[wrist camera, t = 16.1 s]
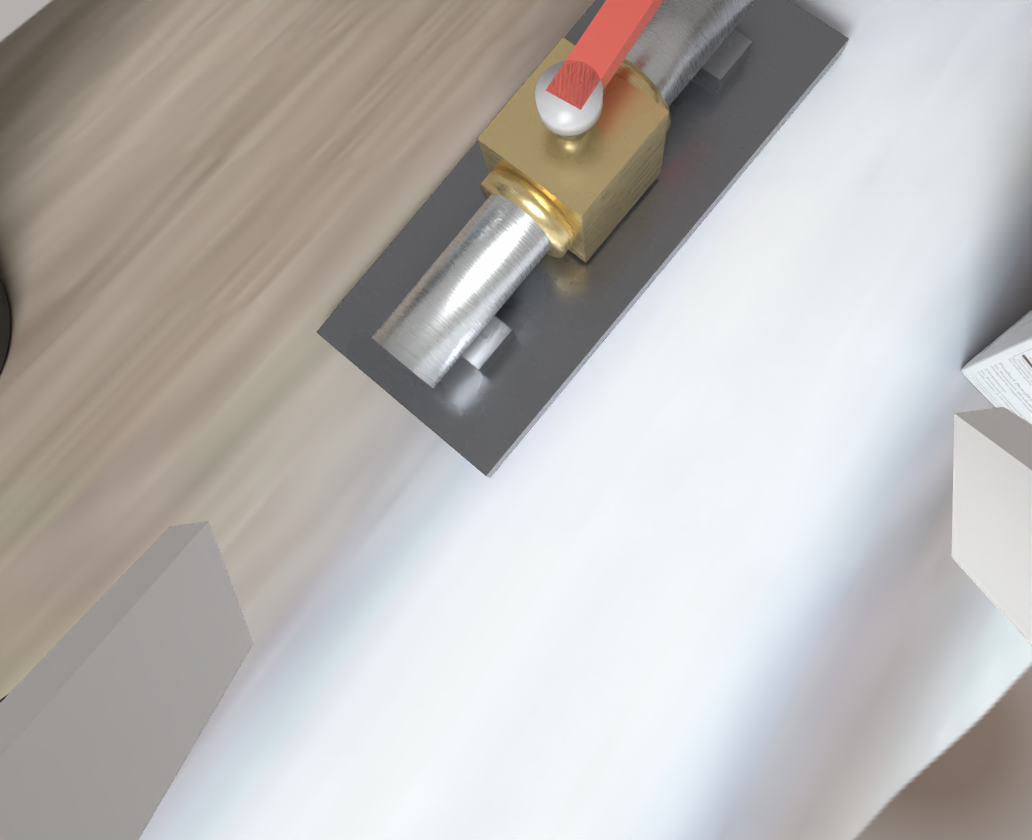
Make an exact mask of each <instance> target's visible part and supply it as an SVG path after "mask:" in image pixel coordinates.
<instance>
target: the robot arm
mask: <svg viewBox="0 0 1032 840" xmlns="http://www.w3.org/2000/svg"><path fill="white" fill-rule="evenodd" d="M9 335H10V313H9V306H8V301H7V297H6V293H5V290H4V287H3V285H2V282H1V280H0V371H1V369H2V366H3V363H4V360H5V357H6V353H7V348H8V343H9ZM952 558H953V559H954V560H955V561H956V562H957V564H958V565H959V566H960V567H961V568H962V569H963V570H964V571H965V572H966V574H967V575H968V576H969V577H970V578H971V579H972V580H973V581H974V582H975V583H976V585H977V586H978V587H979V588H980V589H981V590H982V591H983V592H984V593H985V595H986V596H987V597H988V598H989V599H990V600H991V601H992V602H993V603H994V605H995V606H996V607H997V608H998V609H999V610H1000V611H1001V612H1002V613H1003V614H1004V616H1005V617H1006V618H1007V619H1008V620H1009V621H1010V622H1011V623H1012V624H1013V626H1014V627H1015V628H1016V629H1017V630H1018V631H1019V632H1020V633H1021V634H1022V636H1023V637H1024V638H1025V639H1026V640H1027V641H1028V642H1029V643H1030V644H1031V645H1032V424H1030V423H1028V422H1027V421H1025V420H1024V419H1022V418H1021V417H1019V416H1017V415H1016V414H1014V413H1013V412H1011V411H1010V410H1008V409H1007V408H1005V407H998V408H991V409H984V410H977V411H970V412H963V413H956V414H955V421H954V471H953V521H952ZM252 645H253V641H252V638H251V635H250V633H249V630H248V627H247V624H246V622H245V619H244V616H243V613H242V611H241V608H240V605H239V603H238V600H237V597H236V594H235V592H234V589H233V586H232V583H231V581H230V578H229V575H228V572H227V570H226V567H225V564H224V562H223V559H222V556H221V553H220V551H219V548H218V545H217V542H216V540H215V537H214V534H213V531H212V529H211V526H210V523H209V521H205V522H198V523H191V524H185V525H178V526H171V527H169V528H168V529H167V530H166V531H165V532H164V533H163V534H162V535H161V536H160V538H159V539H158V540H157V541H156V542H155V543H154V544H153V545H152V546H151V547H150V548H149V549H148V550H147V551H146V552H145V553H144V554H143V555H142V556H141V557H140V558H139V559H138V560H137V561H136V562H135V563H134V565H133V566H132V567H131V568H130V569H129V570H128V571H127V572H126V573H125V574H124V575H123V576H122V577H121V578H120V579H119V580H118V581H117V582H116V583H115V584H114V585H113V586H112V587H111V588H110V589H109V590H108V592H107V593H106V594H105V595H104V596H103V597H102V598H101V599H100V600H99V601H98V602H97V603H96V604H95V605H94V606H93V607H92V608H91V609H90V610H89V611H88V612H87V613H86V614H85V615H84V616H83V618H82V619H81V620H80V621H79V622H78V623H77V624H76V625H75V626H74V627H73V628H72V629H71V630H70V631H69V632H68V633H67V634H66V635H65V636H64V637H63V638H62V639H61V640H60V641H59V642H58V643H57V645H56V646H55V647H54V648H53V649H52V650H51V651H50V652H49V653H48V654H47V655H46V656H45V657H44V658H43V659H42V660H41V661H40V662H39V663H38V664H37V665H36V666H35V667H34V668H33V669H32V671H31V672H30V673H29V674H28V675H27V676H26V677H25V678H24V679H23V680H22V681H21V682H20V683H19V684H18V685H17V686H16V687H15V688H14V689H13V690H12V691H11V692H10V693H9V694H8V695H6V696H5V697H4V698H2V699H1V700H0V840H139V838H140V836H141V835H142V833H143V831H144V829H145V828H146V826H147V824H148V823H149V821H150V819H151V818H152V816H153V814H154V812H155V811H156V809H157V807H158V806H159V804H160V802H161V800H162V799H163V797H164V795H165V794H166V792H167V790H168V789H169V787H170V785H171V783H172V782H173V780H174V778H175V777H176V775H177V773H178V771H179V770H180V768H181V766H182V765H183V763H184V761H185V760H186V758H187V756H188V754H189V753H190V751H191V749H192V748H193V746H194V744H195V742H196V741H197V739H198V737H199V736H200V734H201V732H202V731H203V729H204V727H205V725H206V724H207V722H208V720H209V719H210V717H211V715H212V714H213V712H214V710H215V708H216V707H217V705H218V703H219V702H220V700H221V698H222V696H223V695H224V693H225V691H226V690H227V688H228V686H229V685H230V683H231V681H232V679H233V678H234V676H235V674H236V673H237V671H238V669H239V667H240V666H241V664H242V662H243V661H244V659H245V657H246V656H247V654H248V652H249V650H250V649H251V647H252Z"/></svg>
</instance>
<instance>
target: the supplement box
mask: <svg viewBox="0 0 1032 840" xmlns="http://www.w3.org/2000/svg"><path fill="white" fill-rule="evenodd" d="M961 372H962V373H963V374H964V375H965V376H966V377H967V378H968V379H969V381H970V382H971V383H972V384H973V385H974V386H975V387H976V388H977V389H978V390H979V391H980V392H981V393H982V394H983V395H984V396H985V397H986V398H987V399H988V400H989V401H990V402H991V403H992V404H993V405H994V406H995V407H996V408H998V407H1005V408H1007V409H1008V410H1010V411H1011V412H1013V413H1014V414H1016V415H1017V416H1019V417H1021V418H1022V419H1024V420H1025V421H1027V422H1028V423H1030V424H1032V309H1031V310H1030V311H1029V312H1028V313H1027V314H1026V315H1024V316H1023V317H1022V318H1021V319H1020V320H1018V321H1017V322H1016V323H1015V324H1014V325H1012V326H1011V327H1010V328H1009V329H1008V330H1006V331H1005V332H1004V333H1003V334H1002V335H1000V336H999V337H998V338H997V339H996V340H994V341H993V342H992V343H991V344H990V345H988V346H987V347H986V348H985V349H984V350H982V351H981V352H980V353H979V354H978V355H976V356H975V357H974V358H973V359H972V360H970V361H969V362H968V363H967V364H966V365H965V366H964V367H963V368H962V369H961Z"/></svg>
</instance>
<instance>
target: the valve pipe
mask: <svg viewBox="0 0 1032 840" xmlns="http://www.w3.org/2000/svg"><path fill="white" fill-rule="evenodd" d="M605 1H606V0H596V1H595V2H594V3H593V5H592V6H591V7H590V8H589V9H588V11H587V12H586V13H585V14H584V15H583V16H582V18H581V19H580V20H579V21H578V22H577V24H576V25H575V26H574V27H573V28H572V30H571V31H570V32H569V33H568V34H567V35H566V37H565V38H562V39H561V40H560V41H559V42H558V43H557V45H556V46H555V47H554V48H553V49H552V51H551V52H550V53H549V54H548V55H547V57H546V58H545V59H544V60H543V61H542V62H541V64H540V65H539V66H538V67H537V68H536V70H535V71H534V72H533V73H532V74H531V76H530V77H529V78H528V79H527V80H526V81H525V83H524V84H523V85H522V86H521V87H520V89H519V90H518V91H517V92H516V93H515V95H514V96H513V97H512V98H511V99H510V100H509V102H508V103H507V104H506V105H505V106H504V108H503V109H502V110H501V111H500V112H499V113H498V115H497V116H496V117H495V118H494V119H493V121H492V122H491V123H490V124H489V125H488V127H487V128H486V129H485V130H484V131H483V132H482V134H481V135H480V136H479V137H478V138H477V139H478V141H477V142H476V143H475V145H474V146H473V147H472V148H471V149H470V151H469V152H468V153H467V154H466V155H465V156H464V158H463V159H462V160H461V161H460V162H459V164H458V165H457V166H456V167H455V168H454V170H453V171H452V172H451V173H450V174H449V175H448V177H447V178H446V179H445V180H444V181H443V183H442V184H441V185H440V186H439V187H438V189H437V190H436V191H435V192H434V193H433V194H432V196H431V197H430V198H429V199H428V200H427V202H426V203H425V204H424V205H423V206H422V208H421V209H420V210H419V211H418V212H417V213H416V215H415V216H414V217H413V218H412V219H411V221H410V222H409V223H408V224H407V225H406V227H405V228H404V229H403V230H402V231H401V232H400V234H399V235H398V236H397V237H396V238H395V240H394V241H393V242H392V243H391V244H390V246H389V247H388V248H387V249H386V250H385V251H384V253H383V254H382V255H381V256H380V257H379V259H378V260H377V261H376V262H375V263H374V264H373V266H372V267H371V268H370V269H369V270H368V272H367V273H366V274H365V275H364V276H363V278H362V279H361V280H360V281H359V282H358V283H357V285H356V286H355V287H354V288H353V289H352V291H351V292H350V293H349V294H348V295H347V297H346V298H345V299H344V300H343V301H342V302H341V304H340V305H339V306H338V307H337V308H336V310H335V311H334V312H333V313H332V314H331V316H330V317H329V318H328V319H327V320H326V321H325V323H324V324H323V325H322V326H321V327H320V329H319V330H318V331H317V333H318V334H319V335H320V336H321V337H323V338H324V339H325V340H326V341H327V342H329V343H330V344H331V345H332V346H333V347H334V348H336V349H337V350H338V351H339V352H340V353H341V354H343V355H344V356H345V357H346V358H347V359H349V360H350V361H351V362H352V363H353V364H354V365H356V366H357V367H358V368H359V369H360V370H362V371H363V372H364V373H365V374H366V375H367V376H369V377H370V378H371V379H372V380H373V381H375V382H376V383H377V384H378V385H379V386H380V387H382V388H383V389H384V390H385V391H386V392H388V393H389V394H390V395H391V396H392V397H393V398H395V399H396V400H397V401H398V402H399V403H401V404H402V405H403V406H404V407H405V408H406V409H408V410H409V411H410V412H411V413H412V414H413V415H415V416H416V417H417V418H418V419H419V420H421V421H422V422H423V423H424V424H425V425H426V426H428V427H429V428H430V429H431V430H432V431H434V432H435V433H436V434H437V435H438V436H439V437H441V438H442V439H443V440H444V441H445V442H447V443H448V444H449V445H450V446H451V447H452V448H454V449H455V450H456V451H457V452H458V453H460V454H461V455H462V456H463V457H464V458H465V459H467V460H468V461H469V462H470V463H471V464H473V465H474V466H475V467H476V468H477V469H478V470H480V471H481V472H482V473H483V474H484V475H485V476H487V477H491V476H492V475H493V474H494V472H495V471H496V470H497V469H498V468H499V466H500V465H501V464H502V463H503V462H504V460H505V459H506V458H507V457H508V456H509V454H510V453H511V452H512V451H513V450H514V448H515V447H516V446H517V445H518V444H519V442H520V441H521V440H522V439H523V438H524V436H525V435H526V434H527V433H528V431H529V430H530V429H531V428H532V427H533V425H534V424H535V423H536V422H537V421H538V419H539V418H540V417H541V416H542V415H543V413H544V412H545V411H546V410H547V409H548V407H549V406H550V405H551V404H552V403H553V401H554V400H555V399H556V398H557V397H558V395H559V394H560V393H561V392H562V390H563V389H564V388H565V387H566V386H567V384H568V383H569V382H570V381H571V380H572V378H573V377H574V376H575V375H576V374H577V372H578V371H579V370H580V369H581V368H582V366H583V365H584V364H585V363H586V362H587V360H588V359H589V358H590V357H591V356H592V354H593V353H594V352H595V351H596V349H597V348H598V347H599V346H600V345H601V343H602V342H603V341H604V340H605V339H606V337H607V336H608V335H609V334H610V333H611V331H612V330H613V329H614V328H615V327H616V325H617V324H618V323H619V322H620V321H621V319H622V318H623V317H624V316H625V315H626V313H627V312H628V311H629V310H630V308H631V307H632V306H633V305H634V304H635V302H636V301H637V300H638V299H639V298H640V296H641V295H642V294H643V293H644V292H645V290H646V289H647V288H648V287H649V286H650V284H651V283H652V282H653V281H654V280H655V278H656V277H657V276H658V275H659V274H660V272H661V271H662V270H663V269H664V267H665V266H666V265H667V264H668V263H669V261H670V260H671V259H672V258H673V257H674V255H675V254H676V253H677V252H678V251H679V249H680V248H681V247H682V246H683V245H684V243H685V242H686V241H687V240H688V239H689V237H690V236H691V235H692V234H693V233H694V231H695V230H696V229H697V228H698V226H699V225H700V224H701V223H702V222H703V220H704V219H705V218H706V217H707V216H708V214H709V213H710V212H711V211H712V210H713V208H714V207H715V206H716V205H717V204H718V202H719V201H720V200H721V199H722V198H723V196H724V195H725V194H726V193H727V192H728V190H729V189H730V188H731V187H732V185H733V184H734V183H735V182H736V181H737V179H738V178H739V177H740V176H741V175H742V173H743V172H744V171H745V170H746V169H747V167H748V166H749V165H750V164H751V163H752V161H753V160H754V159H755V158H756V157H757V155H758V154H759V153H760V152H761V151H762V149H763V148H764V147H765V146H766V144H767V143H768V142H769V141H770V140H771V138H772V137H773V136H774V135H775V134H776V132H777V131H778V130H779V129H780V128H781V126H782V125H783V124H784V123H785V122H786V120H787V119H788V118H789V117H790V116H791V114H792V113H793V112H794V111H795V110H796V108H797V107H798V106H799V105H800V103H801V102H802V101H803V100H804V99H805V97H806V96H807V95H808V94H809V93H810V91H811V90H812V89H813V88H814V87H815V85H816V84H817V83H818V82H819V81H820V79H821V78H822V77H823V76H824V75H825V73H826V72H827V71H828V70H829V69H830V67H831V66H832V65H833V64H834V62H835V61H836V60H837V59H838V58H839V56H840V55H841V54H842V52H843V50H844V48H845V46H846V44H847V42H848V40H849V39H848V38H847V37H845V36H843V35H842V34H840V33H839V32H837V31H836V30H834V29H833V28H831V27H829V26H828V25H826V24H825V23H823V22H822V21H820V20H818V19H817V18H815V17H814V16H812V15H811V14H809V13H807V12H806V11H804V10H803V9H801V8H800V7H798V6H797V5H795V4H793V3H792V2H790V1H789V0H663V2H662V3H661V5H660V6H659V8H658V9H657V11H656V12H655V14H654V15H653V17H652V18H651V20H650V21H649V23H648V24H647V26H646V27H645V29H644V30H643V32H642V33H641V35H640V36H639V38H638V39H637V41H636V42H635V44H634V45H633V47H632V48H631V50H630V51H629V53H628V54H627V56H626V57H625V59H624V60H623V62H622V63H621V65H620V66H619V68H618V69H617V71H616V72H615V74H614V75H613V77H612V78H611V80H610V81H609V83H608V84H607V86H606V87H605V89H604V90H603V108H602V112H601V115H600V117H599V119H598V121H597V122H596V123H595V124H594V125H593V126H592V127H591V128H590V129H589V130H587V131H585V132H583V133H581V134H578V135H574V136H563V135H559V134H556V133H554V132H552V131H550V130H549V129H547V128H546V127H545V126H544V124H543V123H542V122H541V120H540V118H539V114H538V110H537V104H536V98H535V89H536V85H537V82H538V80H539V78H540V76H541V75H542V74H543V72H544V71H545V70H546V69H548V68H549V67H550V66H552V65H554V64H556V63H558V62H561V61H565V60H566V59H567V57H568V56H569V55H570V53H571V52H572V50H573V49H574V47H575V46H576V44H577V43H578V41H579V40H580V38H581V37H582V35H583V34H584V32H585V31H586V29H587V28H588V26H589V25H590V23H591V22H592V20H593V19H594V17H595V16H596V14H597V13H598V11H599V10H600V8H601V7H602V5H603V4H604V2H605Z"/></svg>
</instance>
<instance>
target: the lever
mask: <svg viewBox="0 0 1032 840" xmlns="http://www.w3.org/2000/svg"><path fill="white" fill-rule="evenodd" d="M662 2H663V0H606V1H605V2H604V4H603V5H602V7H601V8H600V10H599V11H598V13H597V14H596V16H595V17H594V19H593V20H592V22H591V23H590V25H589V26H588V28H587V29H586V31H585V32H584V34H583V35H582V37H581V38H580V40H579V41H578V43H577V44H576V46H575V47H574V49H573V50H572V52H571V53H570V55H569V56H568V57H567V59H566V60H565V61H561V62H558V63H556V64H554V65H552V66H550V67H549V68H548V69H546V70H545V71H544V72H543V74H542V75H541V76H540V78H539V80H538V82H537V85H536V89H535V98H536V104H537V110H538V114H539V118H540V120H541V122H542V123H543V124H544V126H545V127H546V128H547V129H549V130H550V131H552V132H554V133H556V134H559V135H563V136H574V135H578V134H581V133H583V132H585V131H587V130H589V129H590V128H591V127H592V126H593V125H594V124H595V123H596V122H597V121H598V119H599V117H600V115H601V112H602V108H603V90H604V89H605V87H606V86H607V84H608V83H609V81H610V80H611V78H612V77H613V75H614V74H615V72H616V71H617V69H618V68H619V66H620V65H621V63H622V62H623V60H624V59H625V57H626V56H627V54H628V53H629V51H630V50H631V48H632V47H633V45H634V44H635V42H636V41H637V39H638V38H639V36H640V35H641V33H642V32H643V30H644V29H645V27H646V26H647V24H648V23H649V21H650V20H651V18H652V17H653V15H654V14H655V12H656V11H657V9H658V8H659V6H660V5H661V3H662Z"/></svg>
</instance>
